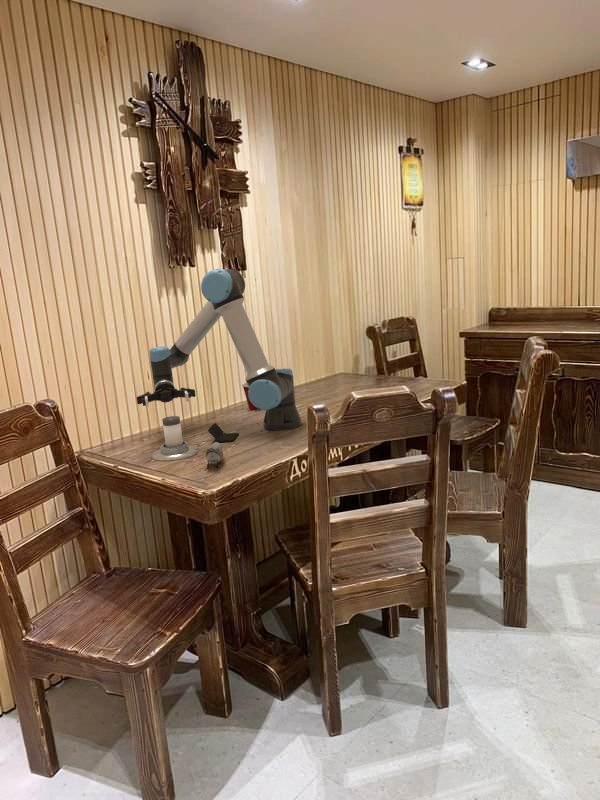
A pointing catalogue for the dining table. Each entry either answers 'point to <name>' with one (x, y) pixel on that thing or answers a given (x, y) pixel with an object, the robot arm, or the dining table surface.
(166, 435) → the lens
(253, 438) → the dining table surface
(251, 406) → the plastic cup
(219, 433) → the handheld gaming console
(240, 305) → the robot arm
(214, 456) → the decorative bird
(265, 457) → the dining table surface
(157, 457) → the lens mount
